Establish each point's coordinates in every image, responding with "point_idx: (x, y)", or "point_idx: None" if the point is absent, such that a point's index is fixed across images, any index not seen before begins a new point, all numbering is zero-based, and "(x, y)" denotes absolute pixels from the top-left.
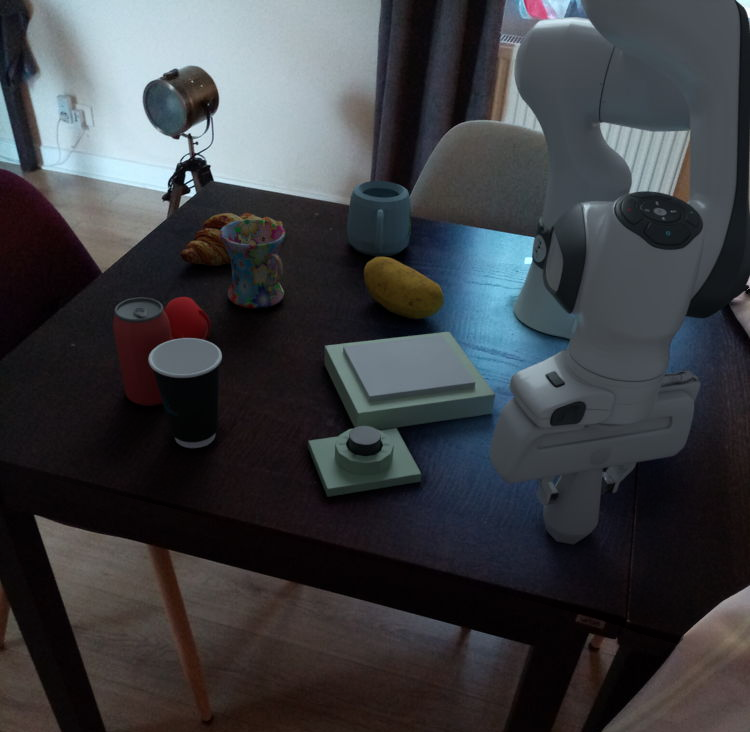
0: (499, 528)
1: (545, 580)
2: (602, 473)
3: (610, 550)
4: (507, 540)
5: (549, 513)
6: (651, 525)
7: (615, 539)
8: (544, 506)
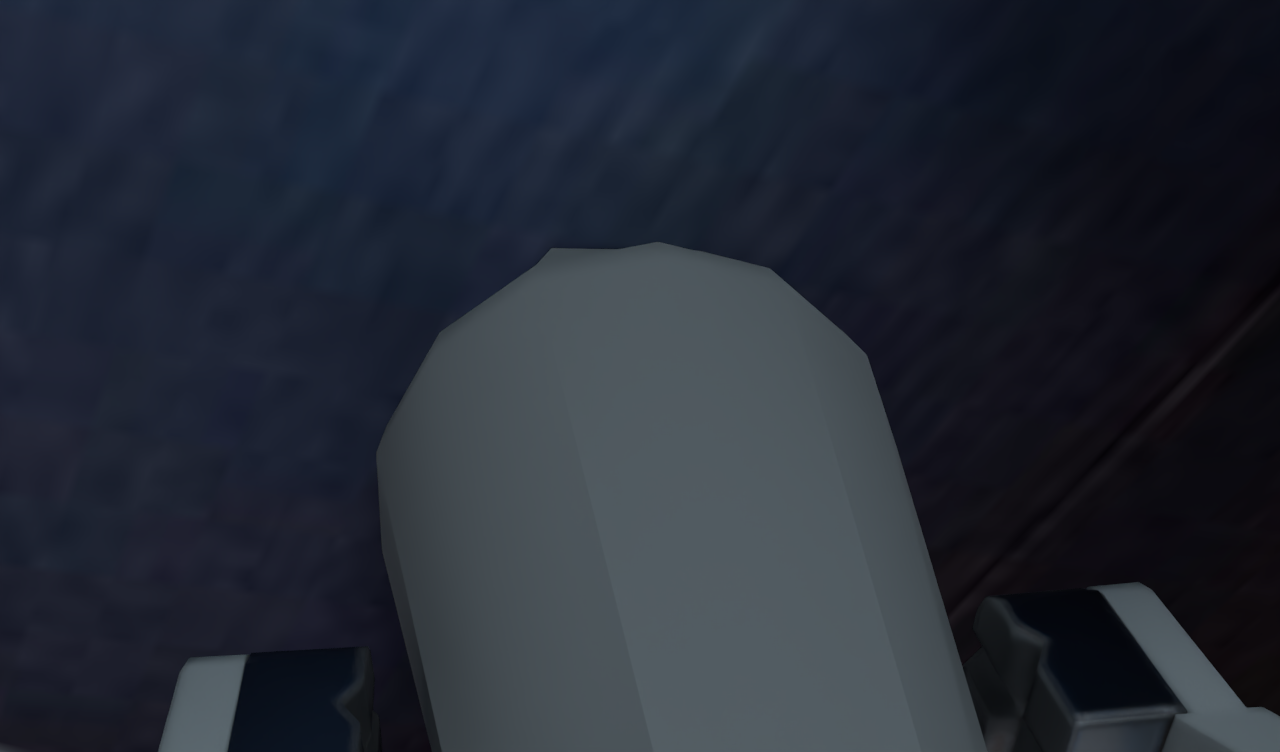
0: (14, 242)
1: None
2: (1104, 736)
3: None
4: (59, 388)
5: (392, 568)
6: (1264, 435)
7: (929, 509)
8: (417, 403)
